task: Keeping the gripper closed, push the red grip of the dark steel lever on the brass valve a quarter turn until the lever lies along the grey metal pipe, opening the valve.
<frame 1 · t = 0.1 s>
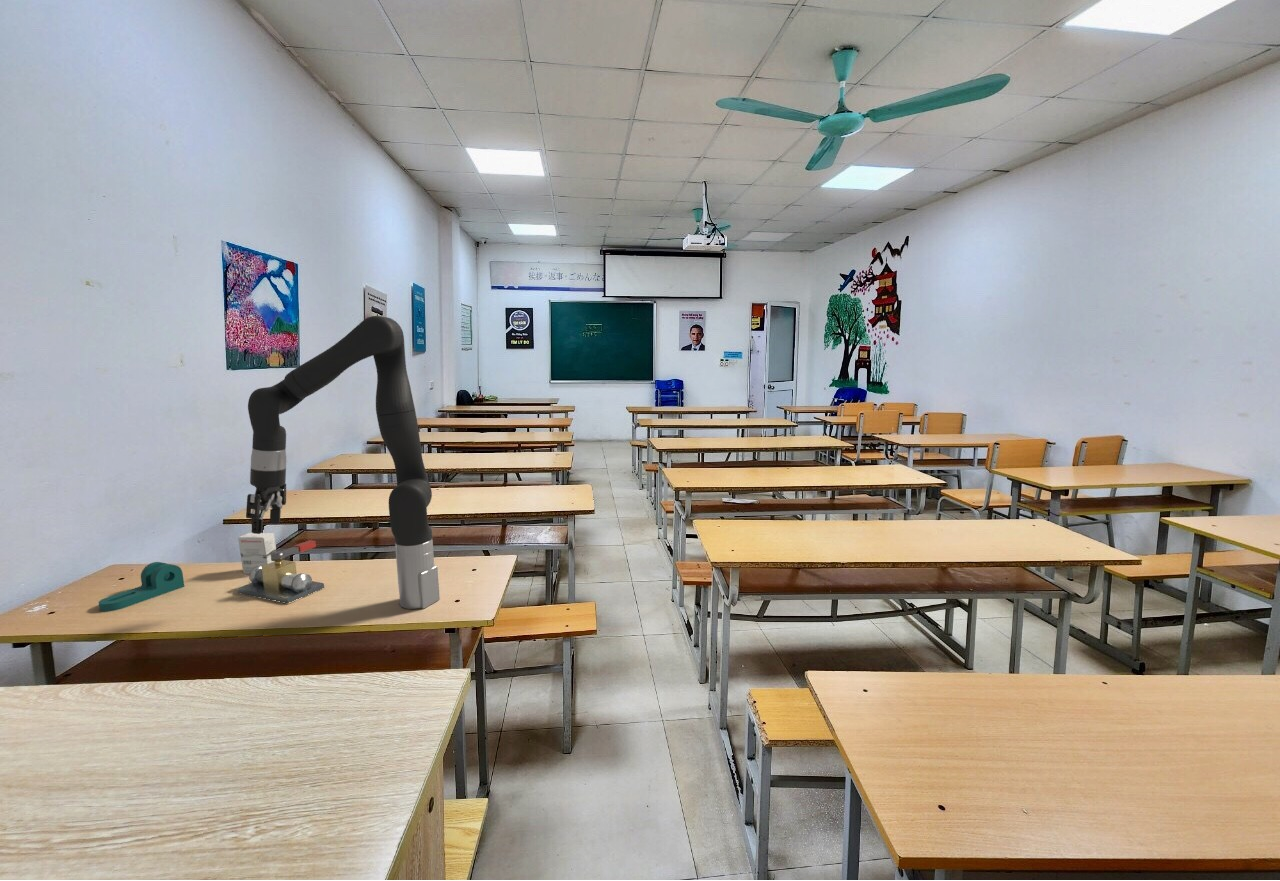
hand: (266, 528, 147), 22 cm above the table, tool pointing down, fingers open, 8 cm apart
valve lever: (293, 550, 165), point 10 cm above the table, hinge at 0.0°
bracket: (141, 598, 159), on the table
ink box: (261, 571, 177), on the table
valve pipe: (281, 590, 163), on the table
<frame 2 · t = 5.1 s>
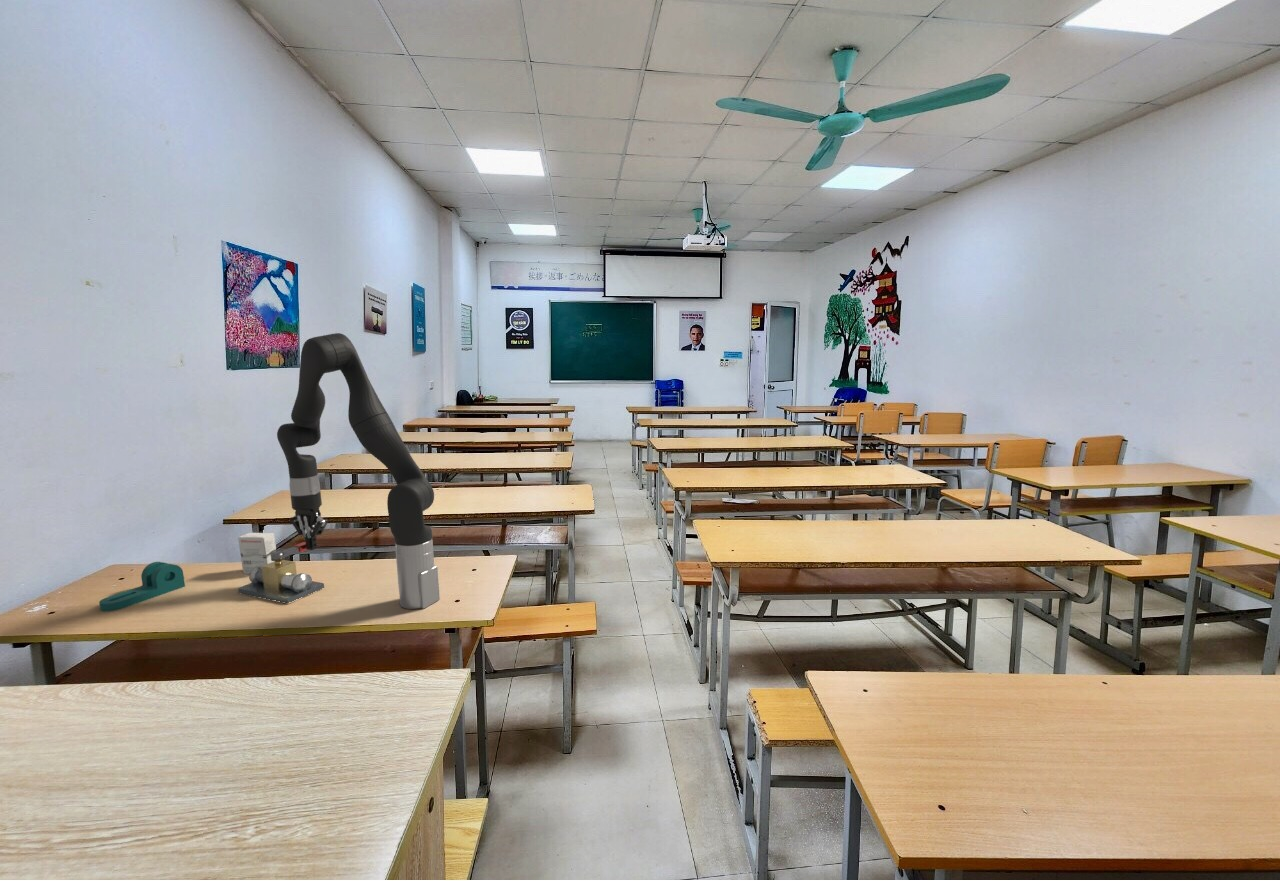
hand: (311, 549, 168), 10 cm above the table, tool pointing down, fingers closed
valve lever: (293, 550, 165), point 10 cm above the table, hinge at 0.4°, touching gripper
everything else where it was.
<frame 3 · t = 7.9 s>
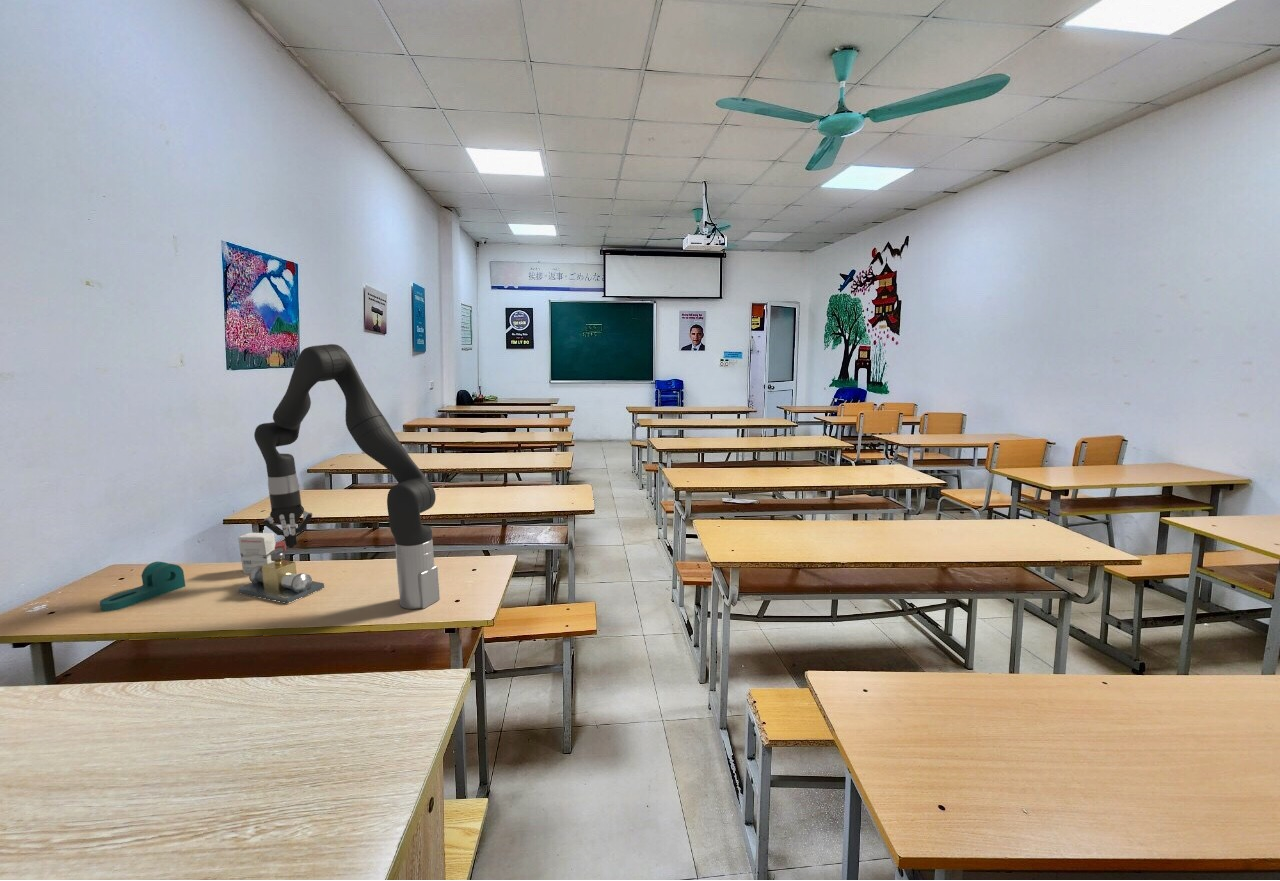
hand: (292, 547, 170), 10 cm above the table, tool pointing down, fingers closed
valve lever: (279, 550, 165), point 10 cm above the table, hinge at 48.7°, touching gripper
everything else where it was.
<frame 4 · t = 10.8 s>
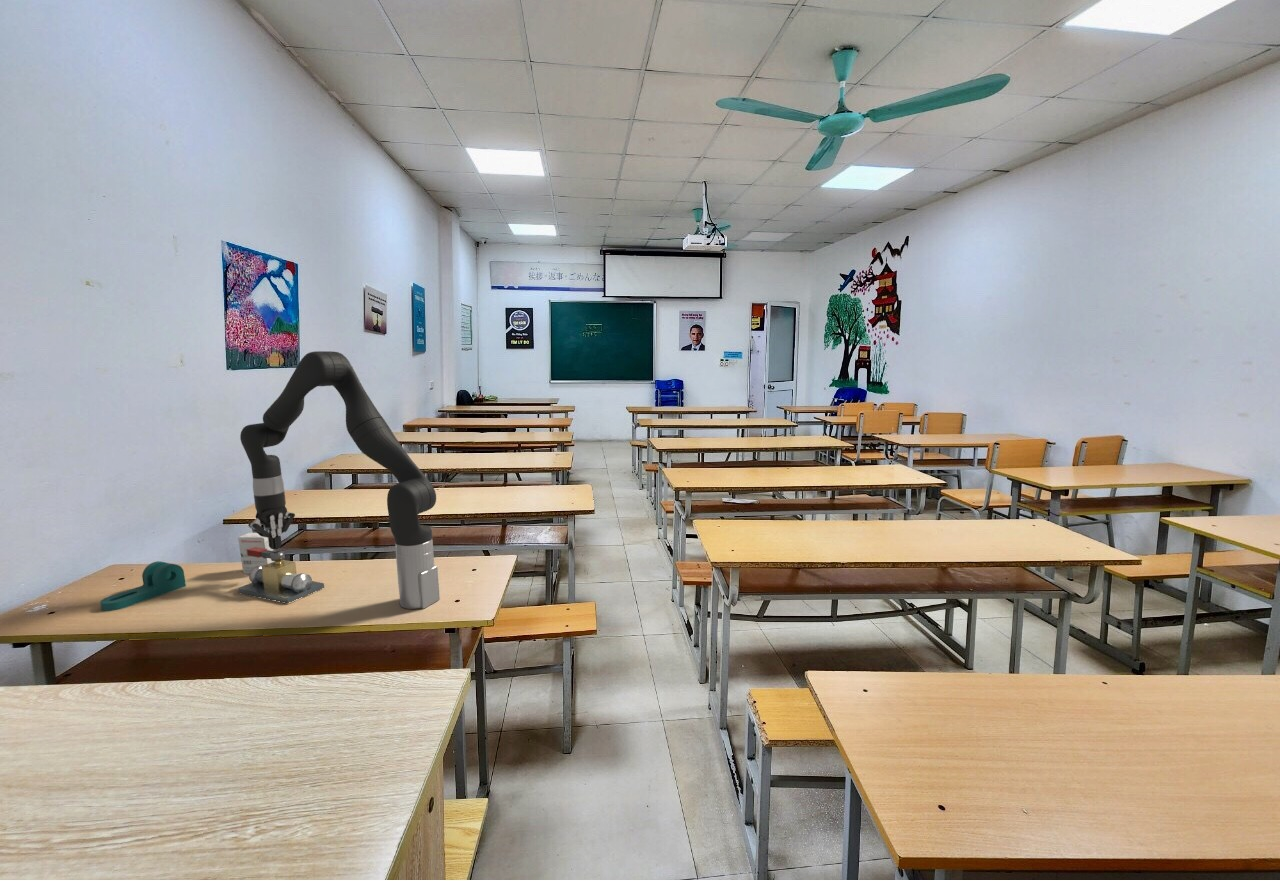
hand: (275, 548, 169), 9 cm above the table, tool pointing down, fingers closed
valve lever: (266, 553, 163), point 10 cm above the table, hinge at 89.7°
everything else where it was.
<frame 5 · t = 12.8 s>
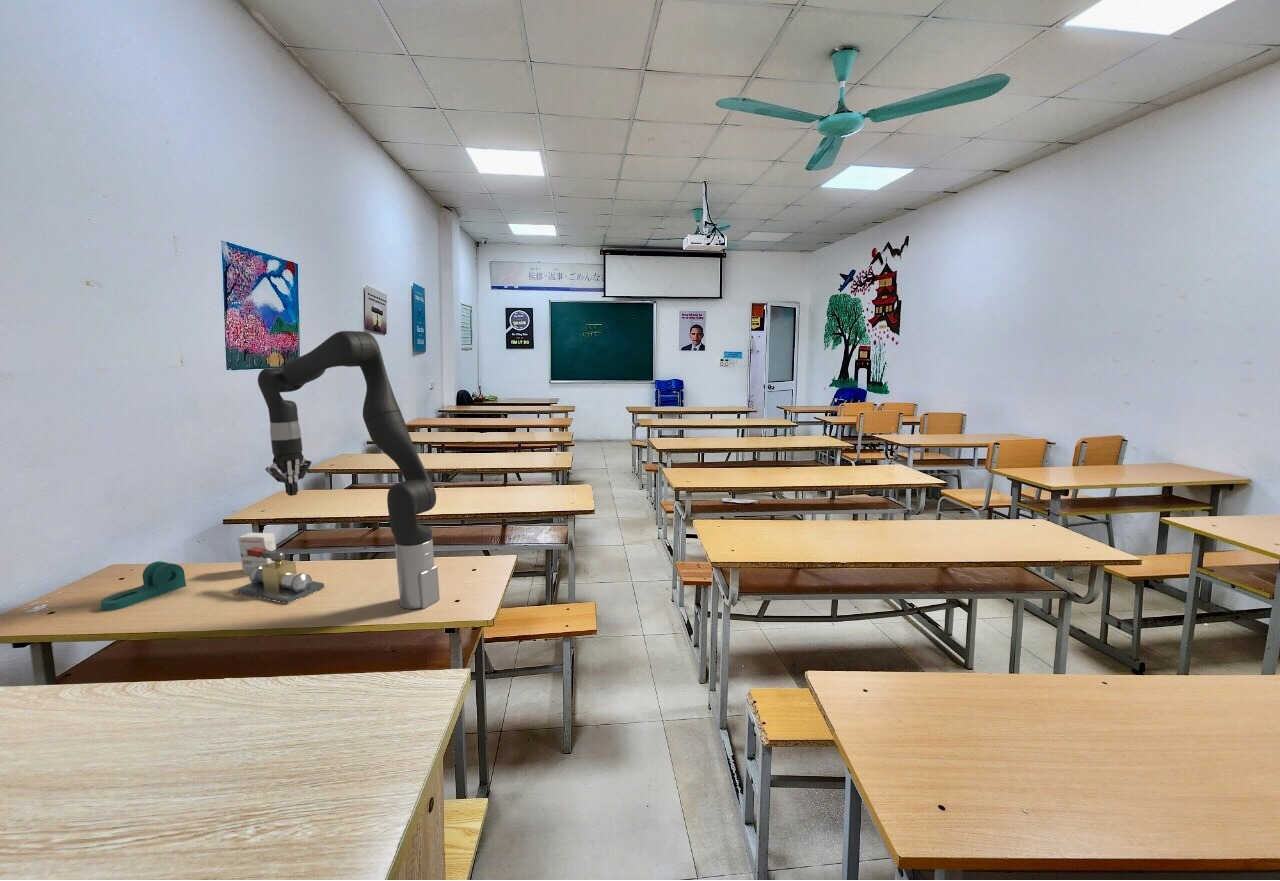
hand: (292, 494, 170), 25 cm above the table, tool pointing down, fingers closed
nothing on the table moved.
at the end: valve lever at +90° (first picture: +0°) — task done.
